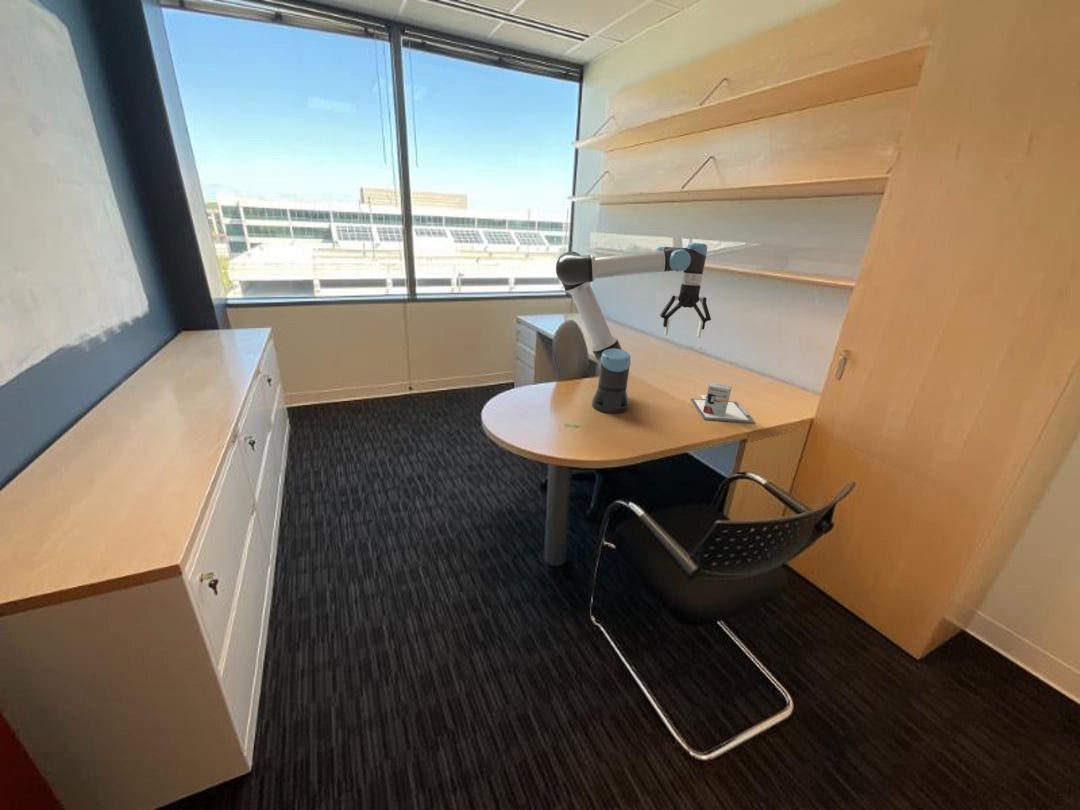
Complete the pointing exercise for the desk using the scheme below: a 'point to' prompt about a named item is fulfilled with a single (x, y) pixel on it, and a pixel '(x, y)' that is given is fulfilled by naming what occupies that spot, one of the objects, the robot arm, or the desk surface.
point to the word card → (703, 396)
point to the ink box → (717, 399)
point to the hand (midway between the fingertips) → (681, 335)
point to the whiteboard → (732, 413)
